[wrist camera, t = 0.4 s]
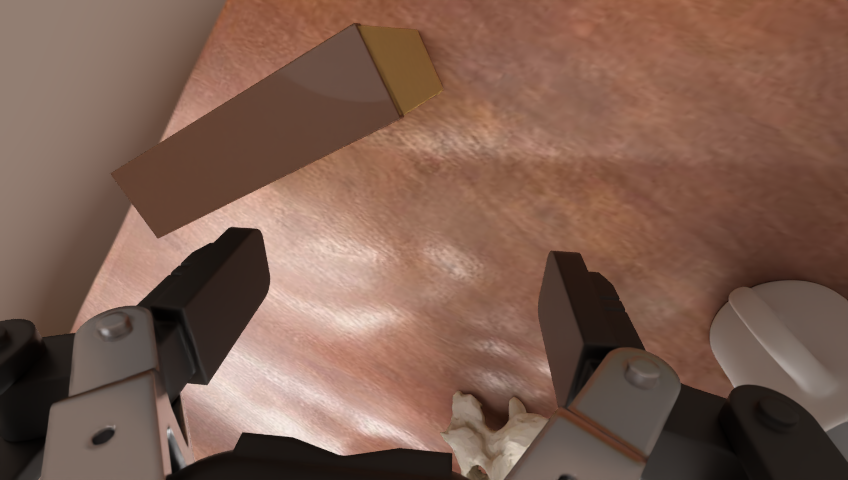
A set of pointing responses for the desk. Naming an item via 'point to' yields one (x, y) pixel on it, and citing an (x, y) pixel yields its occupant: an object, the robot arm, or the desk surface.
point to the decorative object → (489, 437)
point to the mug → (789, 347)
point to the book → (281, 124)
